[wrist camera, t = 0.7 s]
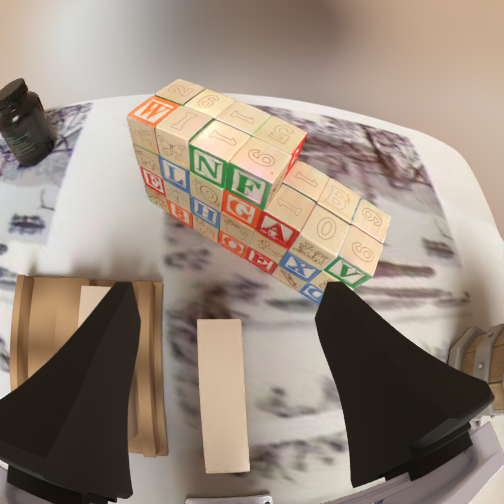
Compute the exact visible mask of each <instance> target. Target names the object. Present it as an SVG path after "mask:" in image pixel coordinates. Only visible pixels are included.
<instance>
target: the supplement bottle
mask: <svg viewBox="0 0 504 504" xmlns="http://www.w3.org/2000/svg"><path fill="white" fill-rule="evenodd" d="M0 133H1V134H2V136H3V138H4V139H5V141H6V143H7V144H8V146H9V148H10V149H11V151H12V152H13V154H14V156H15V157H16V159H17V160H18V162H19V163H20V164H21V165H22V166H25V167H30V166H34V165H36V164H38V163H39V162H41V161H42V160H43V159H45V158H46V157H47V156H48V155H49V153H50V152H51V151H52V149H53V147H54V145H55V140H56V137H55V134H54V132H53V129H52V127H51V125H50V123H49V120H48V118H47V116H46V113H45V111H44V109H43V106H42V104H41V101H40V99H39V97H38V95H37V94H36V93H34V92H31V91H28V88H27V86H26V84H25V81H24V79H23V78H20V79H16V80H14V81H12V82H11V83H9V84H8V85H6V86H5V87H4V88H3V89H1V90H0Z"/></svg>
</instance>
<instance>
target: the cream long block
mask: <svg viewBox="0 0 504 504" xmlns="http://www.w3.org/2000/svg"><path fill="white" fill-rule="evenodd" d="M110 288H111V287H98V286H82V287H81V297H80V307H79V320H78V328H79V327H80V326H81V324H82V323H83V322H84V321H85V319H86V318H87V317H88V316H89V315H90V313H91V312H92V311H93V310H94V308H95V307H96V306H97V305H98V303H99V302H100V301H101V300H102V298H103V297H104V296H105V295H106V293H107V292H108V291H109V290H110ZM137 435H138V427H137V415H136V401H135V379H134V373H133V378H132V383H131V389H130V395H129V404H128V443H129V442H130V441H131V440H132V439H133V438H135V437H136V436H137Z"/></svg>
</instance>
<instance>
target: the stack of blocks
mask: <svg viewBox="0 0 504 504" xmlns="http://www.w3.org/2000/svg"><path fill="white" fill-rule="evenodd" d="M126 117H127V122H128V126H129V130H130V133H131V137H132V140H133V147H134V149H135V154H136V158H137V161H138V164H139V165H140V169H141V173H142V176H143V179H144V182H145V188H146V192H147V194H148V197H149V200H150V201H151V202H152V203H154V204H156V205H157V206H159V207H160V208H162V209H163V210H165V211H167V212H168V213H170V215H172V216H173V217H175V218H176V219H178V220H180V221H181V222H183V223H184V224H186V225H188V226H189V227H191V228H193V229H194V230H196V231H197V232H199V233H200V234H202V235H203V236H205V237H207V238H208V239H210V240H212V241H213V242H215V243H217V244H221V245H222V246H223V247H225V248H227V249H229V250H230V251H232V252H233V253H235V254H237V255H238V256H240V257H242V258H244V259H246V260H248V261H249V262H251V263H253V264H254V265H256V266H257V267H259V268H261V269H263V270H264V271H266V272H268V273H269V274H271V275H272V277H274V278H276V279H277V280H279V281H281V282H282V283H284V284H286V285H287V286H289V287H290V288H292V289H294V290H296V291H298V292H300V293H301V294H303V295H304V296H306V297H308V298H309V299H311V300H313V301H315V302H316V303H318V304H320V302H321V299H322V296H323V293H324V291H325V288H326V285H327V282H332V281H342V282H343V283H344V284H346V285H347V286H348V287H349V288H350V289H351V290H352V291H353V289H354V288H356V287H358V286H359V285H361V284H362V283H364V282H366V281H367V280H369V279H370V278H372V277H373V274H374V272H375V269H376V266H377V263H378V260H379V257H380V254H381V251H382V248H383V245H382V244H383V242H384V239H385V236H386V233H387V229H388V226H389V222H390V218H391V217H390V216H389V215H388V214H386V213H385V212H383V211H382V210H380V209H379V208H377V207H376V206H374V205H373V204H371V203H369V202H368V201H366V200H365V199H362V198H361V196H360V195H358V194H357V193H355V192H353V191H352V190H350V189H349V188H347V187H345V186H344V185H342V184H340V183H339V182H337V181H335V180H334V179H332V178H329V177H328V176H327V175H326V174H324V173H322V172H320V171H319V170H317V169H315V168H313V167H311V166H309V165H307V164H306V163H304V162H301V161H297V158H298V156H299V154H300V151H301V148H302V146H303V144H304V141H305V139H306V136H307V132H305V131H303V130H301V129H299V128H298V127H296V126H294V125H292V124H289V123H287V122H285V121H283V120H281V119H279V118H277V117H275V116H271V115H269V114H267V113H265V112H263V111H261V110H259V109H256V108H254V107H251V106H249V105H247V104H245V103H242V102H238V101H237V100H235V99H233V98H230V97H227V96H225V95H222V94H220V93H217V92H214V91H211V90H209V89H205V88H204V87H202V86H199V85H196V84H193V83H190V82H187V81H185V80H181V79H177V80H176V81H174V82H173V83H171V84H170V85H168V86H166V87H165V88H163V89H162V90H160V91H159V92H157V93H156V94H155V96H152V97H150V98H149V99H147V100H146V101H145V102H143V103H142V104H141V105H139V106H138V107H137V108H135V109H134V110H133V111H132V112H130V113H129V114H128V115H127V116H126Z"/></svg>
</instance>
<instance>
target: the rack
mask: <svg viewBox="0 0 504 504" xmlns="http://www.w3.org/2000/svg"><path fill="white" fill-rule="evenodd" d="M116 282H132V284H133V289H134V293H135V298H136V302H137V306H138V310H139V314H140V318H141V329H140V339H139V347H138V352H137V357H136V362H135V368H134V379H135V401H136V415H137V427H138V435H137V436H136V437H135V438H133V439H132V440H131V441H130V442H129V443H128V452H131V453H139V454H144V456H145V457H155V458H156V456H157V455H159V456H167V455H168V446H167V437H166V425H165V412H164V396H163V373H162V300H163V283H162V282H152V281H151V280H140V281H113V280H91V279H89V278H67V277H61V278H48V277H32V276H25V275H18V277H17V283H16V289H15V296H14V304H13V313H12V324H11V340H10V382H11V392H12V391H13V390H15V389H16V388H17V387H19V386H20V385H21V384H22V383H24V382H25V381H26V380H27V379H29V378H30V377H31V376H32V375H33V374H34V373H35V372H36V371H37V370H39V369H40V368H41V367H42V366H43V365H44V364H45V363H46V362H48V361H49V360H50V359H51V358H52V357H53V356H54V355H55V354H56V353H57V351H58V350H59V349H60V348H61V347H62V346H63V345H64V344H65V343H66V342H67V341H68V339H69V338H70V337H71V336H72V335H73V334H74V333H75V331H76V330H77V329H78V320H79V307H80V297H81V287H82V286H98V287H112V286H113V285H114V284H115V283H116Z"/></svg>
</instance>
